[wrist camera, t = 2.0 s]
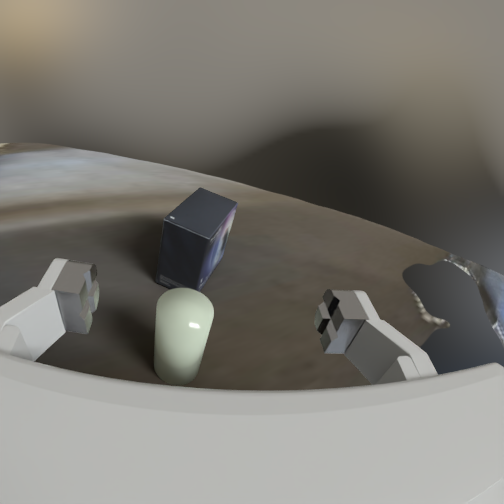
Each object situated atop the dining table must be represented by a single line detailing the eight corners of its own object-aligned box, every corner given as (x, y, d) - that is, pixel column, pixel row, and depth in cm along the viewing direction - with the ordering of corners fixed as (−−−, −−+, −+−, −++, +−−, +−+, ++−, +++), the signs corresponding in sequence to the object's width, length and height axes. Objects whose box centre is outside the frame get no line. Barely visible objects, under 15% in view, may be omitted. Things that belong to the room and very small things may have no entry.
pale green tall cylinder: (150, 380, 30) (151, 325, 24) (157, 343, 34) (162, 283, 28) (196, 388, 31) (212, 336, 25) (199, 351, 34) (215, 293, 29)
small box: (196, 302, 40) (211, 239, 34) (153, 283, 41) (159, 218, 34) (224, 259, 49) (240, 201, 43) (187, 243, 49) (198, 185, 43)
